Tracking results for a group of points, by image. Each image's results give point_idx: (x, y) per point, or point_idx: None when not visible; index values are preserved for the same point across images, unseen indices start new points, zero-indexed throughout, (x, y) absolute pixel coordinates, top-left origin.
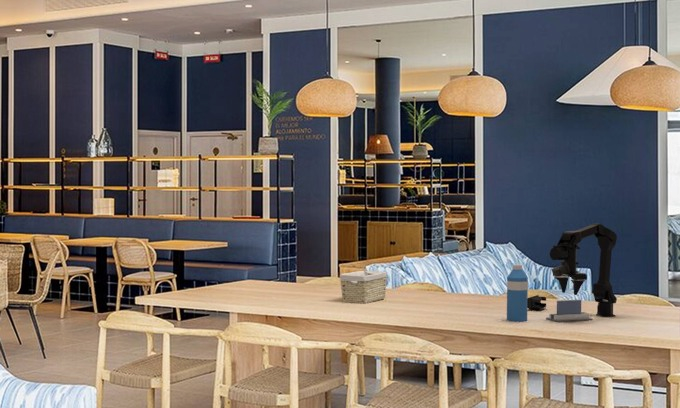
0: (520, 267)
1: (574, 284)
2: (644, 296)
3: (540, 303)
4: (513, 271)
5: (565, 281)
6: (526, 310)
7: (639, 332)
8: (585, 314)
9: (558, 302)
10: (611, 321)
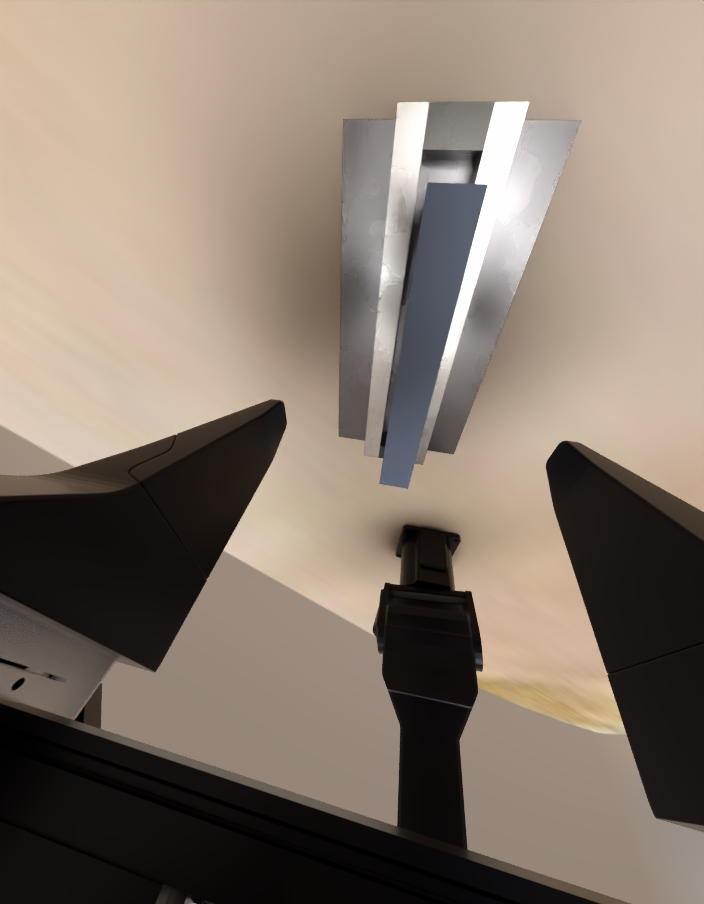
0: None
1: (96, 471)
2: (585, 725)
3: None
4: None
5: (651, 667)
6: None
7: (16, 368)
8: (366, 432)
9: (433, 184)
10: (295, 472)
